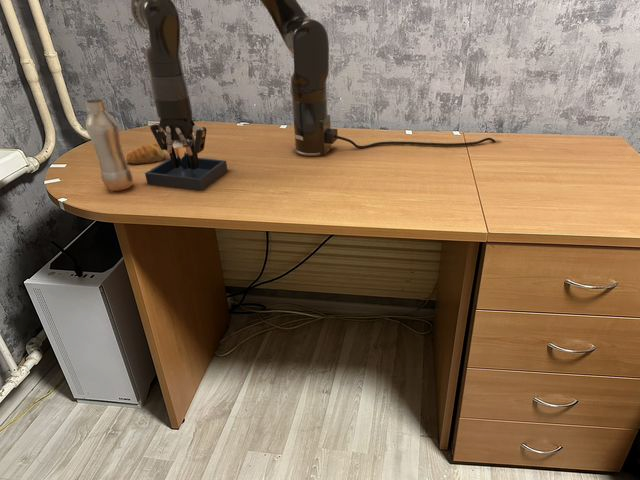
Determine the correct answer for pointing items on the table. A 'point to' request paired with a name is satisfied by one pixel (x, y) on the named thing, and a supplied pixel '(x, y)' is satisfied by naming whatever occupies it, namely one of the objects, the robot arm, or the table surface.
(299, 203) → the table surface
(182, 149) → the milkshake
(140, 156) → the pastry
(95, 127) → the plastic bottle
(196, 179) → the tray
